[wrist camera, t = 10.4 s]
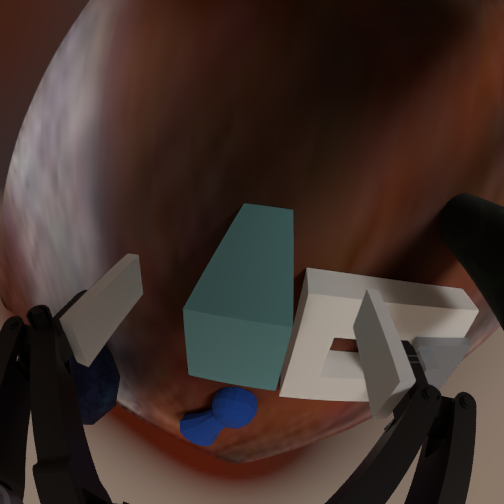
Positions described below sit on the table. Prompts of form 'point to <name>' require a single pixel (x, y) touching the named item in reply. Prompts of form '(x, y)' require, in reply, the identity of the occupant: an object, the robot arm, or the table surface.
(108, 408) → the decorative orb
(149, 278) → the table surface
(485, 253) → the cup
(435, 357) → the plate
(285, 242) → the plug
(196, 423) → the toy
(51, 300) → the table surface
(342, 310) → the socket box
